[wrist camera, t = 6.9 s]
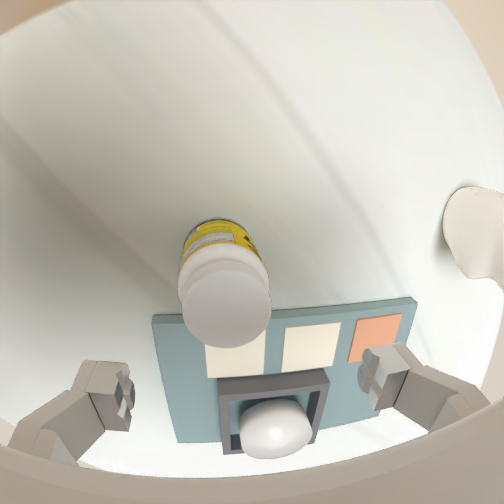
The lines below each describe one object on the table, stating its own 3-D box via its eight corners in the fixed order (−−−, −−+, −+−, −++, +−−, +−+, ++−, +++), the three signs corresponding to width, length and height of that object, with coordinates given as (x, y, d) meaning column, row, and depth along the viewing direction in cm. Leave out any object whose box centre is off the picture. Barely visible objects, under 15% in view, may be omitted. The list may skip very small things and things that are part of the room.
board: (177, 434, 27) (177, 458, 24) (153, 315, 22) (148, 339, 19) (373, 408, 30) (385, 427, 27) (410, 296, 25) (430, 313, 22)
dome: (236, 429, 26) (242, 465, 22) (235, 389, 24) (241, 428, 20) (296, 423, 27) (308, 456, 23) (304, 382, 25) (319, 418, 21)
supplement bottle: (257, 274, 22) (286, 344, 14) (193, 288, 22) (190, 364, 14) (245, 209, 20) (272, 252, 13) (176, 224, 20) (159, 276, 12)
